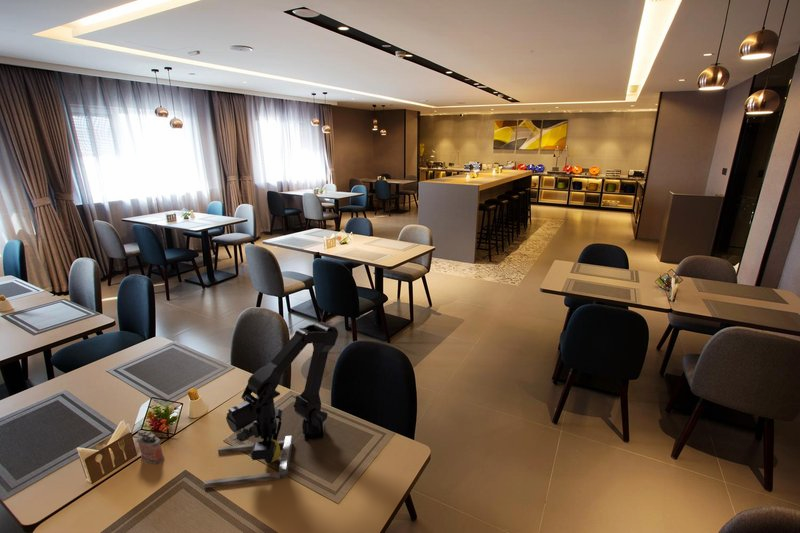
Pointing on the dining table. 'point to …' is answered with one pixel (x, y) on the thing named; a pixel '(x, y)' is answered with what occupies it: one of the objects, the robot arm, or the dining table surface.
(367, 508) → the dining table surface
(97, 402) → the dining table surface
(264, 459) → the lemon
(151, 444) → the pink grey container
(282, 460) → the channel
